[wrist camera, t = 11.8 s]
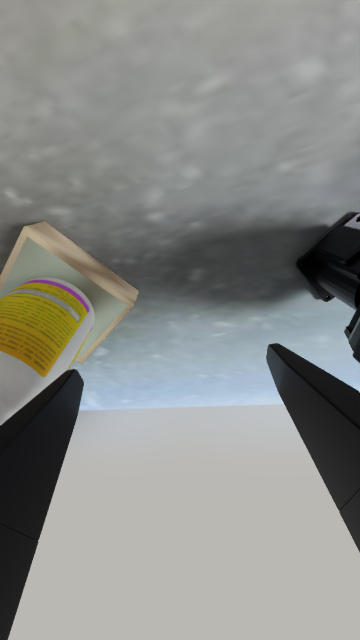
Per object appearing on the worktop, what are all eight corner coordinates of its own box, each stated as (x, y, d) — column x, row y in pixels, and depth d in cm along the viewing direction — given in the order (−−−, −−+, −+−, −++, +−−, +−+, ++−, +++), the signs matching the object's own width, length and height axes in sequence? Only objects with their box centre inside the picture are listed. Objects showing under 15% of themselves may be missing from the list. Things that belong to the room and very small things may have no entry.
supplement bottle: (10, 268, 17) (-285, 418, 6) (94, 280, 17) (-28, 430, 7) (29, 333, 20) (-132, 501, 9) (98, 340, 21) (22, 502, 10)
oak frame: (138, 291, 22) (134, 305, 19) (90, 346, 25) (81, 364, 23) (44, 221, 18) (22, 226, 15) (3, 298, 21) (-19, 314, 19)
